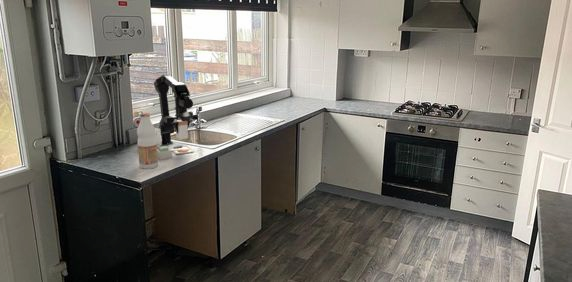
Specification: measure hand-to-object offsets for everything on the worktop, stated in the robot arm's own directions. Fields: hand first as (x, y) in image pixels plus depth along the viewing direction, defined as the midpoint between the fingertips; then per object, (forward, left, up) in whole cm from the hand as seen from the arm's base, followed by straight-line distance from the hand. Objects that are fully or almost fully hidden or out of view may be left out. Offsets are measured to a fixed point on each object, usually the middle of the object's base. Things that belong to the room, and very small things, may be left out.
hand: (181, 132), depth 247 cm
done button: (+3, -13, -9) cm, 15 cm away
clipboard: (-2, 0, -12) cm, 12 cm away
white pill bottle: (0, 0, -3) cm, 3 cm away
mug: (-19, -9, -12) cm, 24 cm away
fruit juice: (+15, -25, -12) cm, 31 cm away
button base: (+3, -12, -12) cm, 17 cm away
